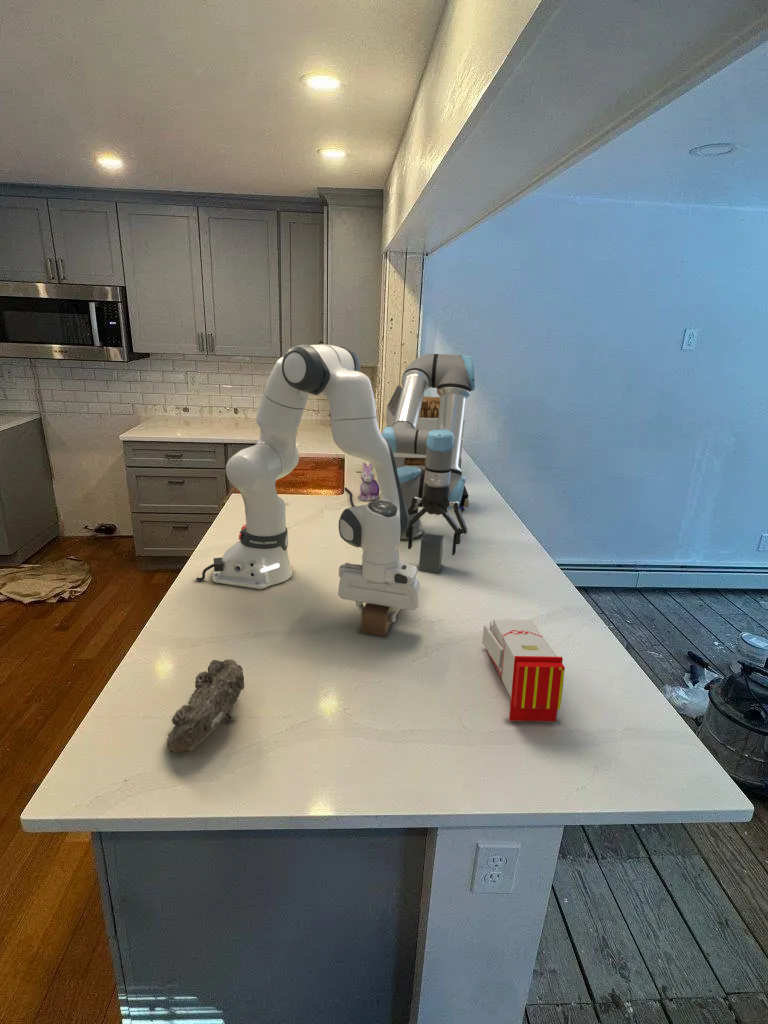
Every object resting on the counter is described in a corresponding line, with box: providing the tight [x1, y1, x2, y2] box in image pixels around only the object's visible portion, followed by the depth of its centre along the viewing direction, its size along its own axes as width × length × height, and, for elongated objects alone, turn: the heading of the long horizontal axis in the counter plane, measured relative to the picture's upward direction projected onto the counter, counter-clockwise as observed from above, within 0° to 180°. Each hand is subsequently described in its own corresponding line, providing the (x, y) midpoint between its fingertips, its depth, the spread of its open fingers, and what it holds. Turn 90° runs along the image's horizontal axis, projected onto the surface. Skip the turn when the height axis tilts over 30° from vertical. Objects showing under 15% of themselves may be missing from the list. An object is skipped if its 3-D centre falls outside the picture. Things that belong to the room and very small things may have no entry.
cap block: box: [418, 532, 445, 574], centre depth 173 cm, size 6×6×10 cm
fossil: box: [166, 658, 245, 754], centre depth 106 cm, size 22×10×15 cm
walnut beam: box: [360, 563, 413, 637], centre depth 151 cm, size 30×6×6 cm, turn 166°
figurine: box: [359, 462, 380, 502], centre depth 233 cm, size 9×10×15 cm
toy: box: [481, 618, 566, 722], centre depth 122 cm, size 12×13×30 cm
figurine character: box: [459, 485, 470, 512], centre depth 229 cm, size 7×8×15 cm
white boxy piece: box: [385, 384, 465, 471], centre depth 268 cm, size 34×33×41 cm
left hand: (377, 618), depth 141 cm, fingers closed on walnut beam, 6 cm apart
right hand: (431, 550), depth 173 cm, fingers open, 13 cm apart
